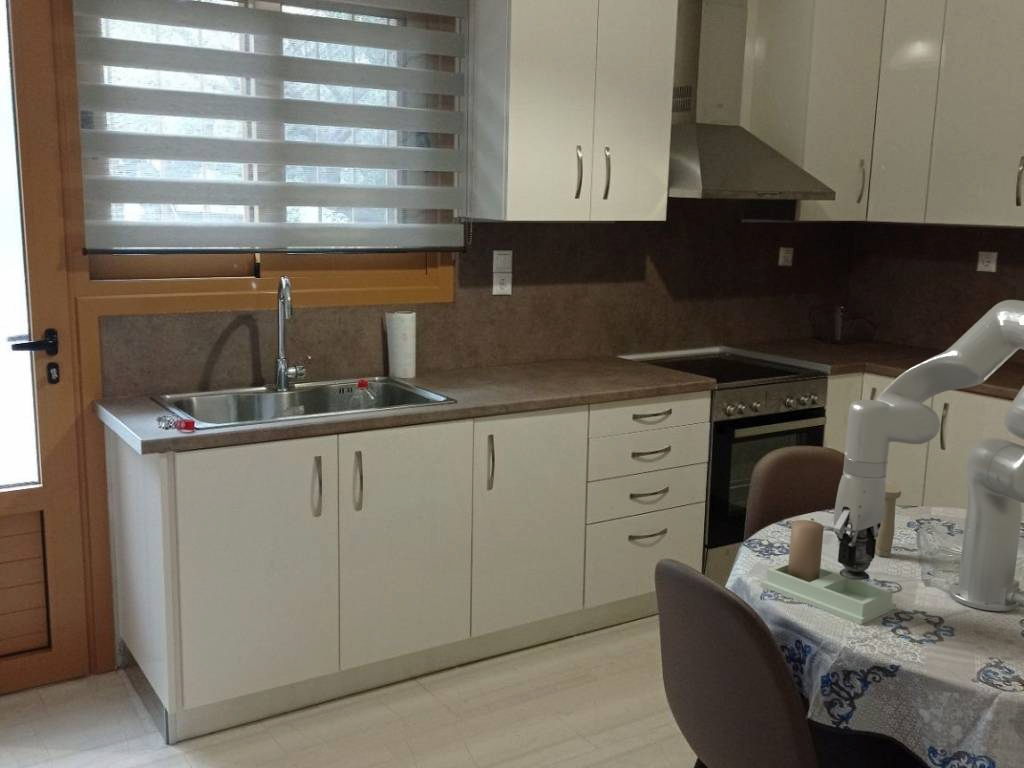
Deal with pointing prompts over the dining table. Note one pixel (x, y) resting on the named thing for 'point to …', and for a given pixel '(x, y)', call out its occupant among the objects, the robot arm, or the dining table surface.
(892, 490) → the handle
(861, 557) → the salt shaker
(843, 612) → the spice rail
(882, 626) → the dining table surface
